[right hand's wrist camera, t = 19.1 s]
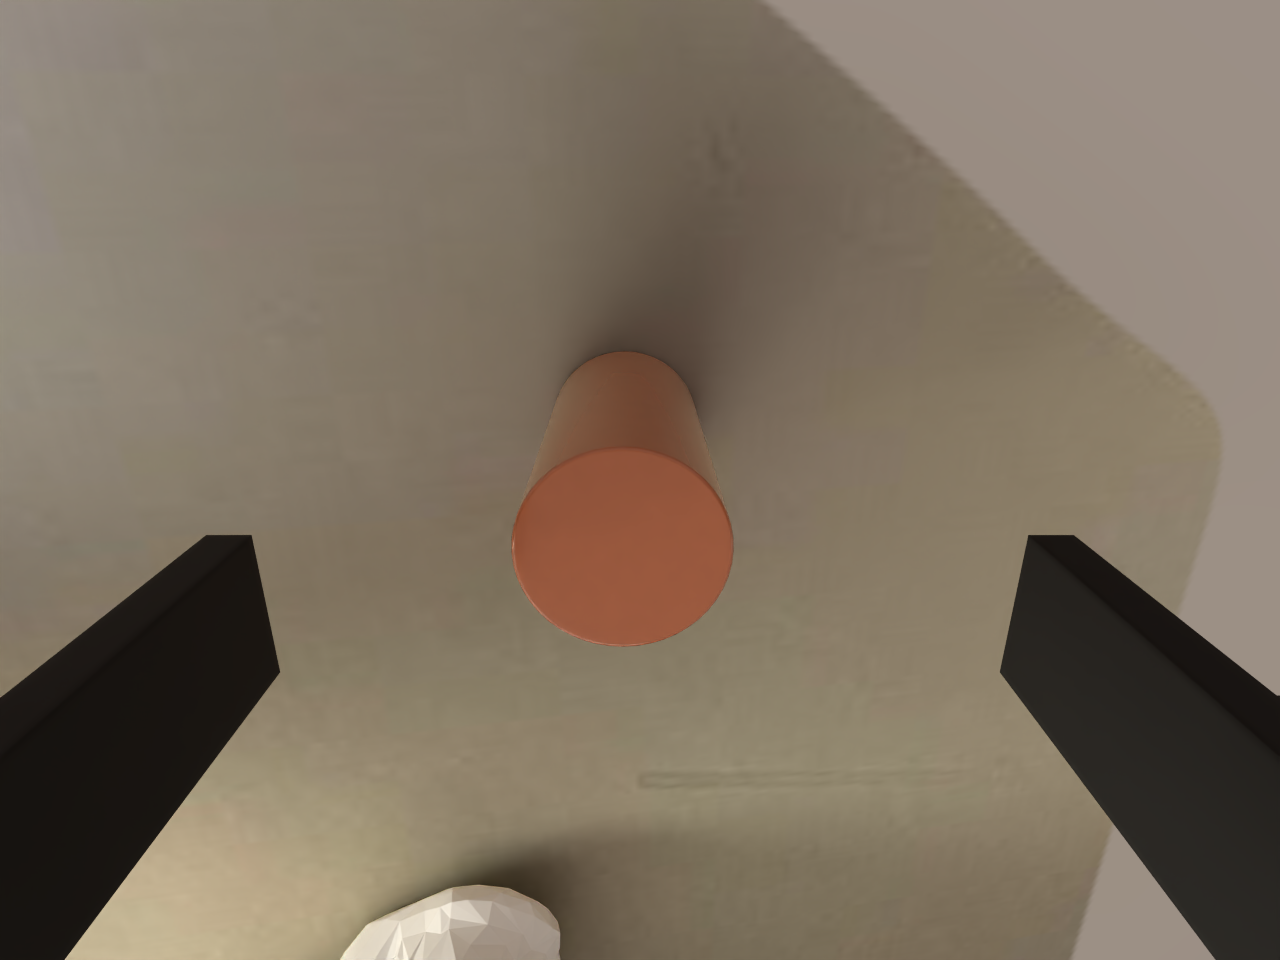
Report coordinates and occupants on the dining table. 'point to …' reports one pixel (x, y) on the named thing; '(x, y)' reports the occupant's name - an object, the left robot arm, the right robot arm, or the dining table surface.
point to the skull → (462, 928)
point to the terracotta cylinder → (623, 508)
